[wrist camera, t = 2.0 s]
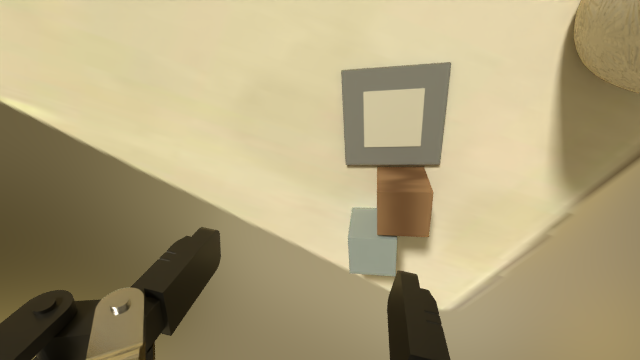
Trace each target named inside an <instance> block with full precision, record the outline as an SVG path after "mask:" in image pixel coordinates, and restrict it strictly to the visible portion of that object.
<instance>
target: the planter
mask: <svg viewBox="0 0 640 360" xmlns="http://www.w3.org/2000/svg"><path fill="white" fill-rule="evenodd" d="M574 41H575V46H576V50H577V52H578V55H579V57H580V59H581V61H582V62H583V64H584V65H585V66H586V67H587V68H588V69H589V70H590V71H591V72H592V73H593V74H595V75H596V76H598V77H599V78H601V79H602V80H604V81H606V82H609V83H611V84H613V85H615V86H618V87H621V88H623V89H626V90H630V91H633V92H636V93H639V94H640V0H581V2H580V4H579V7H578V11H577V14H576V18H575V24H574Z"/></svg>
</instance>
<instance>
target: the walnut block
mask: <svg viewBox="0 0 640 360" xmlns="http://www.w3.org/2000/svg"><path fill="white" fill-rule="evenodd" d="M432 201H433V190H432V188H431V185H430V182H429V179H428V177H427V174H426V171H425V169H424V167H377V235H392V236H416V237H429V229H430V220H431V210H432Z"/></svg>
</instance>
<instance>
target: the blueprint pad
mask: <svg viewBox="0 0 640 360" xmlns="http://www.w3.org/2000/svg"><path fill="white" fill-rule="evenodd" d="M450 68H451V63H450V62H447V63H434V64H420V65H407V66H393V67H380V68H366V69H352V70H342V71H341V74H342V95H343V116H344V138H345V159H346V165H405V164H440V158H441V149H442V140H443V131H444V122H445V113H446V104H447V95H448V86H449V77H450Z"/></svg>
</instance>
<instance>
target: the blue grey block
mask: <svg viewBox="0 0 640 360" xmlns="http://www.w3.org/2000/svg"><path fill="white" fill-rule="evenodd" d="M348 249H349V269H350V273H354V274H368V275H383V276H395V274H396V252H397V236H392V235H377V208H352V213H351V220H350V227H349V234H348Z"/></svg>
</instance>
